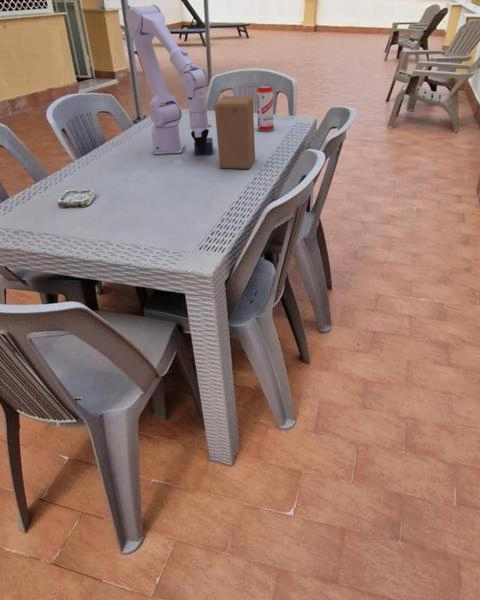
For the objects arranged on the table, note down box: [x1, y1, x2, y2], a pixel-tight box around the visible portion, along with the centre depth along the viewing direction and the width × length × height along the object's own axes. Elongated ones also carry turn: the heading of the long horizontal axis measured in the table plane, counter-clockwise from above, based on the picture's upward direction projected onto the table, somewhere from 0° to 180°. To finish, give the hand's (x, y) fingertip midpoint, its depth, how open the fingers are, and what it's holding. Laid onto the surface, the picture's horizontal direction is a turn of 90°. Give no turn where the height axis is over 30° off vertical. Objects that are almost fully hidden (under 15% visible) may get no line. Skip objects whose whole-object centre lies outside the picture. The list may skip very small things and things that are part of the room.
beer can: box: [256, 84, 275, 133], centre depth 179 cm, size 6×6×16 cm
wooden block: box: [214, 95, 256, 170], centre depth 146 cm, size 10×10×20 cm
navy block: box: [193, 137, 214, 156], centre depth 162 cm, size 6×6×4 cm
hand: (202, 152), depth 156 cm, fingers closed
